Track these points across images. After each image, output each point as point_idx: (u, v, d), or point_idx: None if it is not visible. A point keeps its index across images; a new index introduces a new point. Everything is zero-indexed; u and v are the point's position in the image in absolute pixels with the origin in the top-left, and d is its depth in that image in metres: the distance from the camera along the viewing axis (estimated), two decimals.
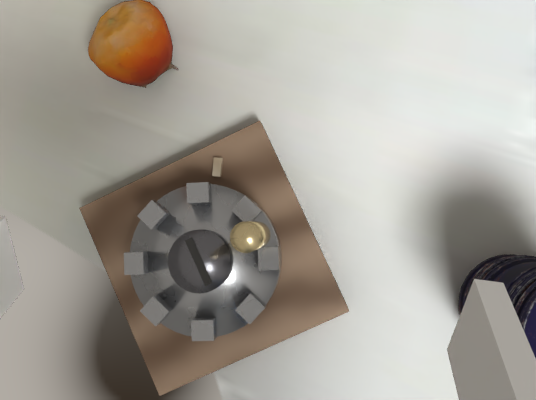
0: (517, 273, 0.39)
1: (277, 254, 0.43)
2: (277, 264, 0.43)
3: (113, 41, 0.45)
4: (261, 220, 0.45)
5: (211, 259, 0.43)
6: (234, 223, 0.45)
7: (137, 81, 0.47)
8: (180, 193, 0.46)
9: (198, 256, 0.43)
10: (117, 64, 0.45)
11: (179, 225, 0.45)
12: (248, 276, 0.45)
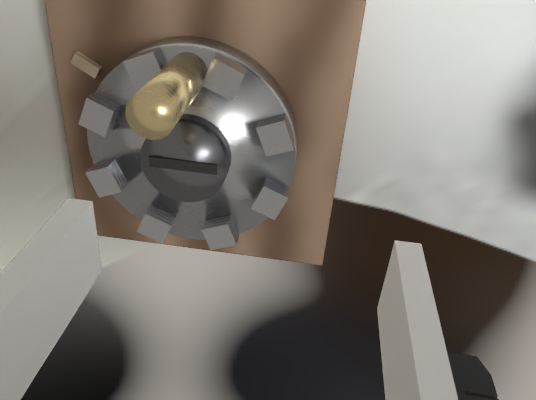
0: None
1: (223, 64, 0.28)
2: (236, 72, 0.28)
3: None
4: (171, 55, 0.29)
5: (187, 149, 0.31)
6: None
7: None
8: (94, 133, 0.33)
9: (176, 162, 0.31)
10: None
11: (134, 156, 0.33)
12: (237, 114, 0.31)
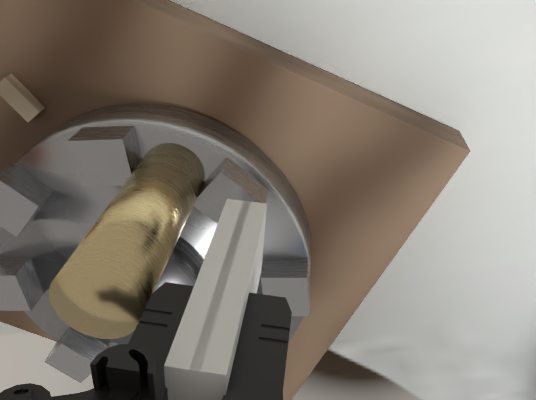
0: None
1: (234, 184, 0.17)
2: (252, 201, 0.17)
3: None
4: (151, 143, 0.18)
5: None
6: (121, 188, 0.19)
7: None
8: None
9: None
10: None
11: (61, 261, 0.22)
12: None
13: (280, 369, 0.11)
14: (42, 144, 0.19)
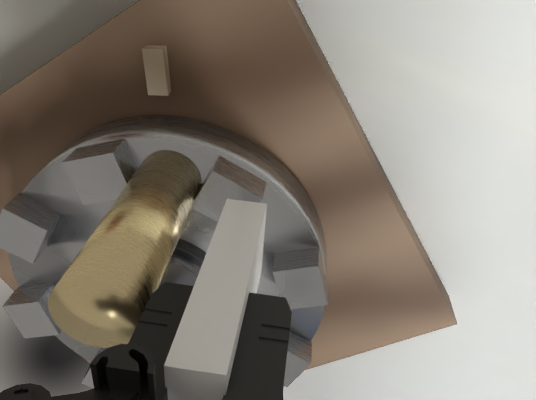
0: None
1: (228, 181, 0.17)
2: (249, 195, 0.17)
3: None
4: (144, 153, 0.18)
5: None
6: None
7: None
8: None
9: None
10: None
11: None
12: None
13: (280, 369, 0.11)
14: (42, 170, 0.19)
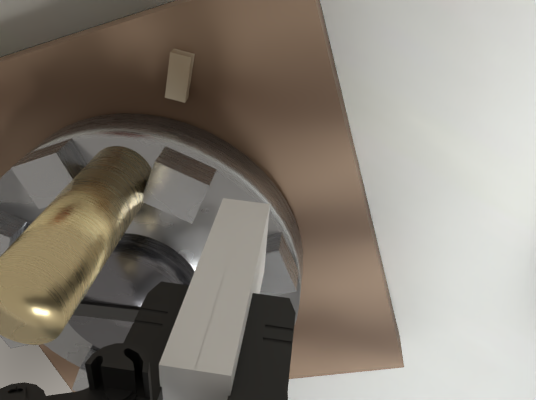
0: None
1: (173, 170, 0.17)
2: (195, 183, 0.17)
3: None
4: (93, 151, 0.18)
5: (129, 292, 0.19)
6: None
7: None
8: None
9: (113, 310, 0.20)
10: None
11: None
12: (205, 233, 0.20)
13: (284, 370, 0.11)
14: (1, 178, 0.19)
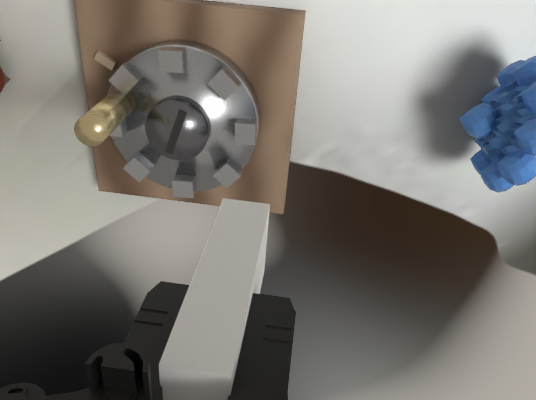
0: None
1: (113, 75, 0.42)
2: (119, 69, 0.42)
3: None
4: None
5: (165, 124, 0.43)
6: (134, 123, 0.45)
7: None
8: (155, 177, 0.48)
9: (172, 135, 0.44)
10: None
11: (175, 161, 0.47)
12: (157, 80, 0.43)
13: (284, 370, 0.11)
14: (118, 148, 0.47)
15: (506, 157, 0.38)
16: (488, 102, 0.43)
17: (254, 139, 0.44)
